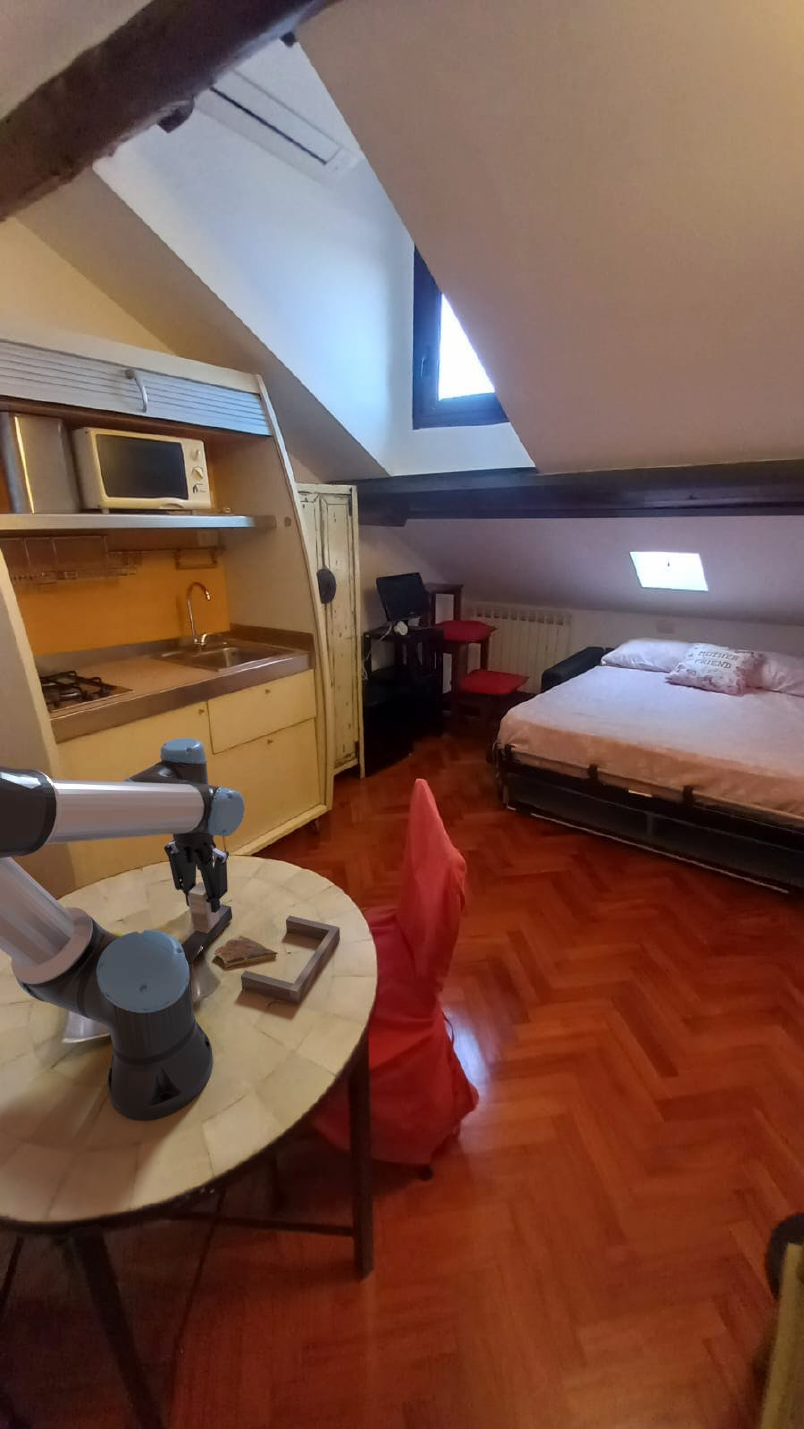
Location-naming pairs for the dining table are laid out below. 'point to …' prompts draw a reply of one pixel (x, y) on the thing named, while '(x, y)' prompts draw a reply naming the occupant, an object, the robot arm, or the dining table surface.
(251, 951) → the shard
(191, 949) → the scraper
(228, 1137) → the dining table surface
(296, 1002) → the walnut bay
